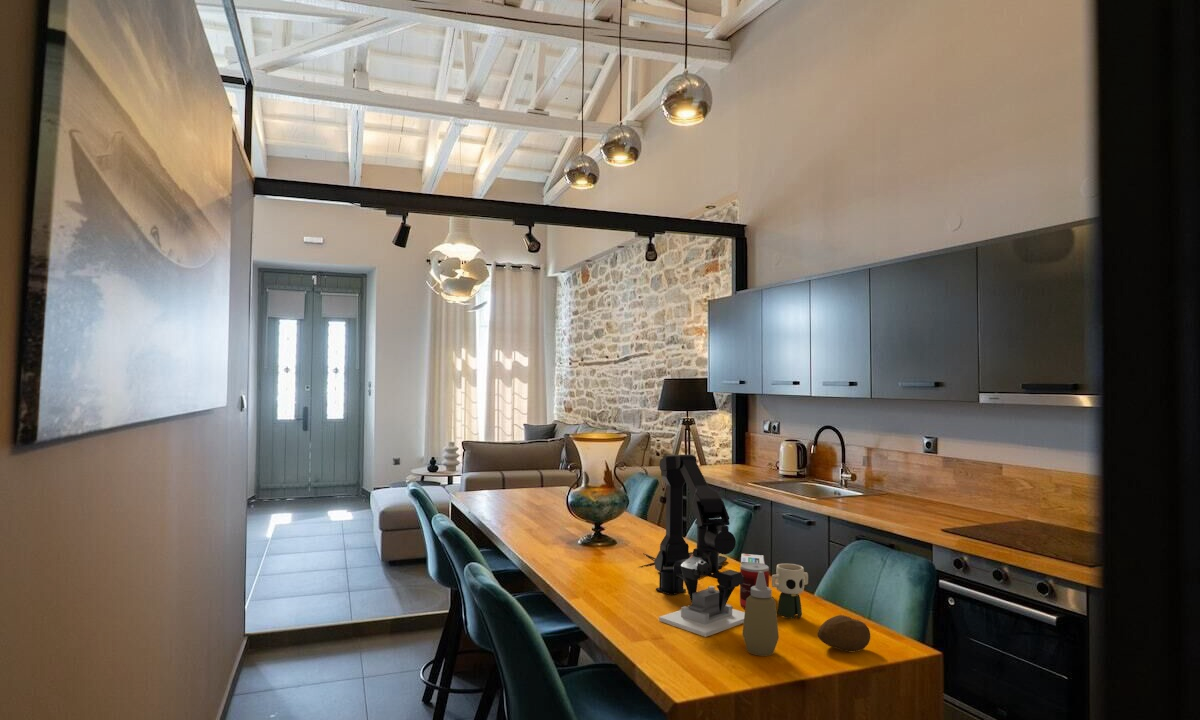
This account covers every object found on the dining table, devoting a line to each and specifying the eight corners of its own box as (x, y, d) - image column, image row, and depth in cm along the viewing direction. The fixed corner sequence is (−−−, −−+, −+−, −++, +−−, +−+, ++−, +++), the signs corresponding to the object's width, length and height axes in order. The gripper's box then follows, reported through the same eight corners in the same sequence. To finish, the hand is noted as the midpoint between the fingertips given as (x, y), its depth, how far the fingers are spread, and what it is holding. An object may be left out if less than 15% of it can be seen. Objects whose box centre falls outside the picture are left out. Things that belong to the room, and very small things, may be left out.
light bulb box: (764, 602, 199) (765, 563, 199) (740, 600, 200) (740, 561, 200) (763, 591, 209) (764, 554, 210) (740, 589, 211) (741, 553, 211)
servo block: (688, 618, 181) (688, 590, 181) (712, 609, 188) (712, 583, 188) (700, 622, 178) (701, 593, 178) (724, 613, 185) (725, 586, 185)
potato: (878, 654, 161) (878, 620, 162) (829, 658, 159) (829, 623, 159) (857, 641, 169) (857, 609, 170) (810, 645, 167) (810, 612, 167)
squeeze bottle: (737, 645, 165) (739, 567, 166) (771, 645, 166) (772, 567, 167) (748, 659, 157) (749, 577, 158) (783, 658, 158) (784, 577, 159)
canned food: (769, 603, 197) (770, 564, 198) (766, 612, 190) (767, 571, 190) (742, 600, 200) (742, 561, 200) (737, 609, 192) (738, 568, 193)
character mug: (778, 622, 182) (779, 571, 182) (764, 613, 188) (764, 564, 189) (815, 619, 185) (816, 568, 185) (799, 610, 192) (800, 562, 192)
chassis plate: (658, 620, 181) (659, 607, 181) (707, 604, 195) (707, 592, 195) (705, 636, 170) (705, 622, 171) (753, 618, 184) (753, 605, 184)
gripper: (659, 543, 185) (658, 603, 184) (718, 557, 171) (717, 622, 171) (687, 537, 192) (686, 595, 192) (745, 550, 179) (744, 612, 178)
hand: (706, 606), depth 183 cm, fingers open, 9 cm apart
